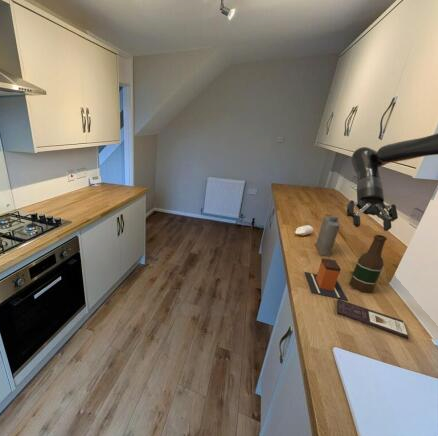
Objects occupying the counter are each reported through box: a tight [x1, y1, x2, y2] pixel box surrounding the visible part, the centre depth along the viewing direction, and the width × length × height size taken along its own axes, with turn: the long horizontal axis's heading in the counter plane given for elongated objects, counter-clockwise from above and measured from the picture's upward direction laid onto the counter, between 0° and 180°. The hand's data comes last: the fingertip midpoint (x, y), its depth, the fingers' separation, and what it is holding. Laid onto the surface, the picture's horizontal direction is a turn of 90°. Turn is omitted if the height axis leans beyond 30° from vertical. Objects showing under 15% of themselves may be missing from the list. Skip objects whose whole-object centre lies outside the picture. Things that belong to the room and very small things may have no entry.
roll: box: [294, 224, 314, 237], centre depth 150 cm, size 6×12×6 cm, turn 116°
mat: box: [304, 271, 349, 302], centre depth 101 cm, size 12×16×1 cm
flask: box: [315, 215, 341, 257], centre depth 128 cm, size 15×6×20 cm, turn 154°
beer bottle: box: [349, 234, 388, 294], centre depth 96 cm, size 8×8×24 cm
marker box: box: [316, 257, 342, 291], centre depth 99 cm, size 5×8×10 cm, turn 157°
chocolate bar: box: [336, 299, 409, 340], centre depth 84 cm, size 9×1×18 cm
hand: (372, 228), depth 87 cm, fingers open, 8 cm apart
